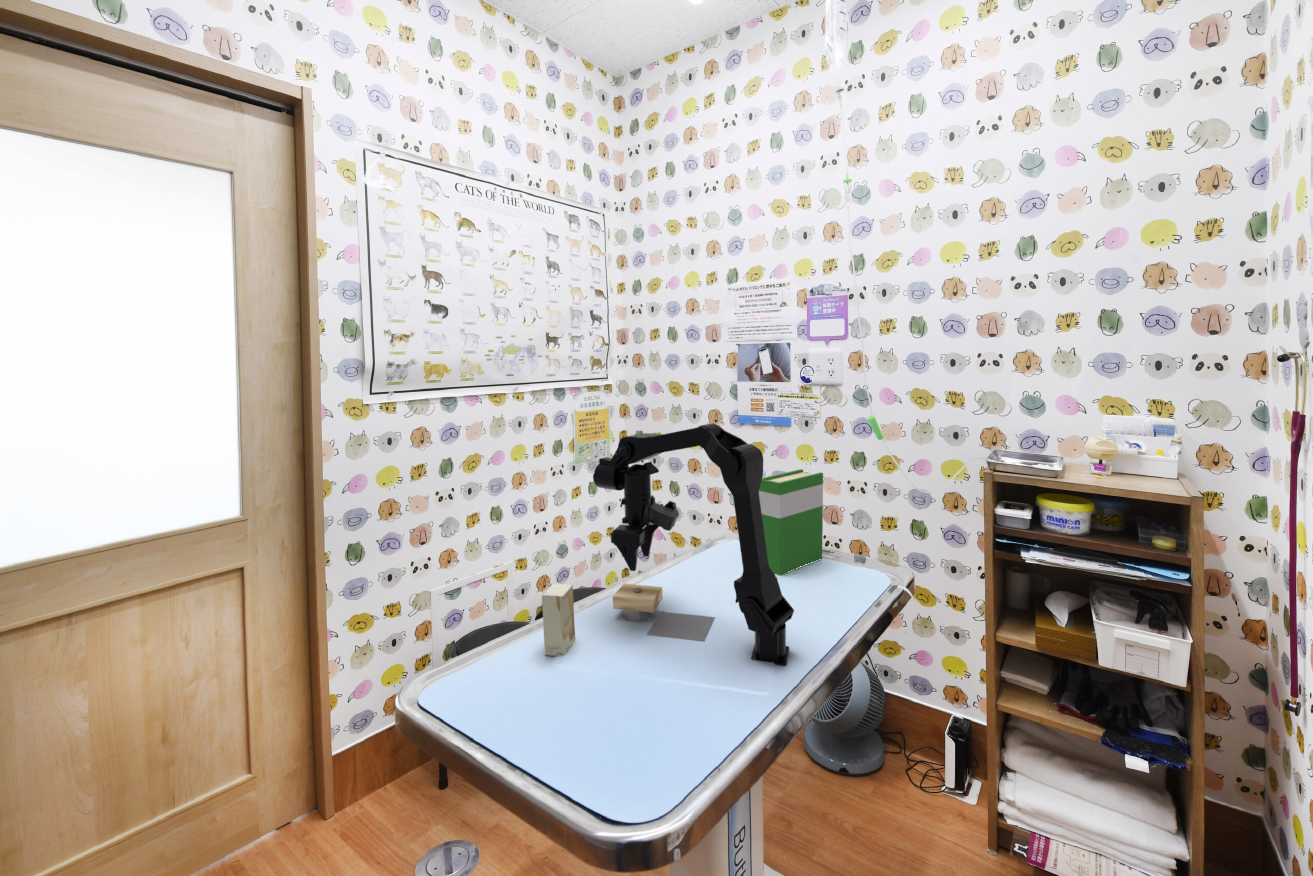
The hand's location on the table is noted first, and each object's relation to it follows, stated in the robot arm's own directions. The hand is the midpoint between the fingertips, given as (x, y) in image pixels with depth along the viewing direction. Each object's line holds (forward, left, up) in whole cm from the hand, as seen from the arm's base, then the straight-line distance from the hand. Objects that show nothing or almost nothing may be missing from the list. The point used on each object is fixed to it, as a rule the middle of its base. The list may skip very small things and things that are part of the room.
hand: (640, 563), depth 128 cm
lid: (-1, 0, -9) cm, 9 cm away
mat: (-4, -10, -12) cm, 16 cm away
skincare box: (-18, +11, -12) cm, 24 cm away
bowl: (-1, 0, -12) cm, 12 cm away
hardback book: (+39, -29, -12) cm, 50 cm away
